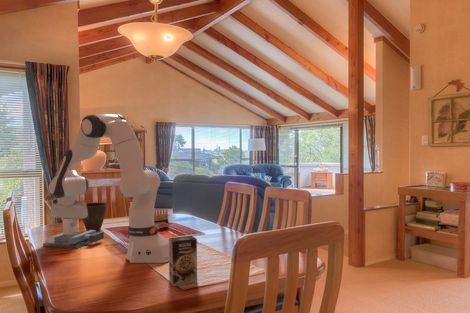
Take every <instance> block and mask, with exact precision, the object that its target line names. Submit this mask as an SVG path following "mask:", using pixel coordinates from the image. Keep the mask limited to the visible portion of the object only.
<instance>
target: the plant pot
mask: <svg viewBox="0 0 470 313" xmlns="http://www.w3.org/2000/svg"><path fill="white" fill-rule="evenodd" d="M86 204H87V212H88V216H87V217H86V218H83V219H82V222H83V225H84V227H85V230H86V232H87V231H89V230H96V233H97V232H101V230H102V225H103V223H104V221H105V216H106V210H107V203H105V202H88V203H87V202H86Z"/></svg>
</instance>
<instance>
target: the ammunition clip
mask: <svg viewBox="0 0 470 313" xmlns="http://www.w3.org/2000/svg"><path fill="white" fill-rule="evenodd" d="M168 213H169V212H168V208H163V209H161V208H160V209H157V210H156V209H154V224H162V225H163V223H168V224H169V214H168Z"/></svg>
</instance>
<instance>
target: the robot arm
mask: <svg viewBox="0 0 470 313" xmlns="http://www.w3.org/2000/svg"><path fill="white" fill-rule="evenodd" d="M102 138H109V140H110V141H111V143H112V148H113V150H114V152H115V155H116V157H117V161H118V164H119V170H120V178H119V181H118V189H119V192H120V193H121V194H123V196H126V197H128V198H129V197H131V198H132V202H131V204H130V206H129V208H128V227H127V235H128V247H127V252H126V257H125V259H126V260H127V261H129V263H130V264H164V263H167V262H168V263H169V239H166V238H165V237H164V236H162V234H161V233H159V230H160V228H159V227H156V226H155V224H154V211H155V205H156V204H155V203H156V199H157V193H158V189H159V188H160V185H161V177H160V175H159V174H158V173H157V172H155V171H153V170H150V169H145V170H144V166H143V164H144V163H143V158H144V153H143V150H142V148H141V145H140V143H139V140H138V137H137V135H136V133H135V131H134V129H133V127H132V126H131V125H130V122H128V120H126V118H125V117H124V116H123V115H122V114H119V113H113V114H112V113H96V114H88V115H86V116H84V117H83V118H82V120H81V122H80V125H79V128H78V129H77V132H76V136H75V139H74V142H73V144H72V145H71V147H69V148H68V149H67V150H65V152H64V153H63V155H62V157H61V159H60V162H59V163H58V165H57V169H56V171H55V173H54V176H53V177H52V179H51V180H50V182H49V183H48V193H49V194H50V195H51V196H52V197H54V199H52V200H51V201H50V202H51V206H50V215H51V218H61V222H62V223H63V219H64V218H73V220H74V221H73V223H71V226H72V227H75V226H76V227H77V222H78V220H79V219H82V220H83V218H86V217H87V216H88V212H87V202H86V201H84V200H79V196H83V195H85V194H86V193H87V192H88V190H89V188H90V187H89V180H88V179H87V178H86V177H84V176H81V175H79V174H78V171H77V169H71V168H72V167H73V166H74V165H76V164H78V163H80V162H82V161H86V160H89V159H91V158H93V157H94V156H95V155H96V154H97V152H98V150H99V146H100V142H101V139H102Z"/></svg>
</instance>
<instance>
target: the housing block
mask: <svg viewBox="0 0 470 313" xmlns="http://www.w3.org/2000/svg"><path fill="white" fill-rule="evenodd" d="M73 221H74V220H73V218H64V219H63V222H62V233H63V234H72V233H75V232H76V230H77V225H76V226H75V227H72V226H71V223H73Z"/></svg>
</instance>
